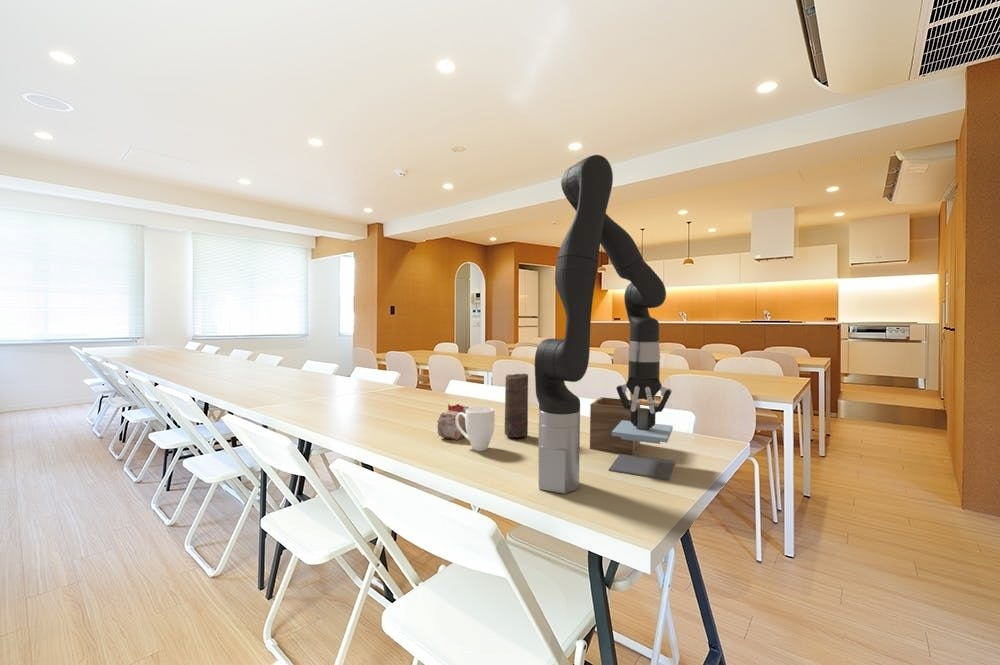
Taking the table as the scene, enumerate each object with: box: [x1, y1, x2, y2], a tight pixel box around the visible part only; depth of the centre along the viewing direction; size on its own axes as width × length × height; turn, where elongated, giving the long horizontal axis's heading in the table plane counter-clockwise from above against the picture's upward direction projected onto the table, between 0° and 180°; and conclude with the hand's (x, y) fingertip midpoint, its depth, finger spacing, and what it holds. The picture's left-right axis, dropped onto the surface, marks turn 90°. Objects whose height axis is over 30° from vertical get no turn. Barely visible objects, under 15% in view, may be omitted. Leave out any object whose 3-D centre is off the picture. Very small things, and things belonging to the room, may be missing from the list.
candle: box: [504, 373, 529, 438], centre depth 138 cm, size 8×7×20 cm
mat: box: [608, 453, 675, 481], centre depth 112 cm, size 14×14×1 cm
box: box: [589, 396, 641, 455], centre depth 129 cm, size 12×12×13 cm
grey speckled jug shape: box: [436, 403, 470, 441], centre depth 141 cm, size 14×8×10 cm, turn 166°
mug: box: [455, 406, 495, 452], centre depth 127 cm, size 12×8×11 cm
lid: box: [612, 407, 673, 445], centre depth 112 cm, size 13×13×7 cm
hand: (643, 426), depth 112 cm, fingers closed on lid, 3 cm apart
